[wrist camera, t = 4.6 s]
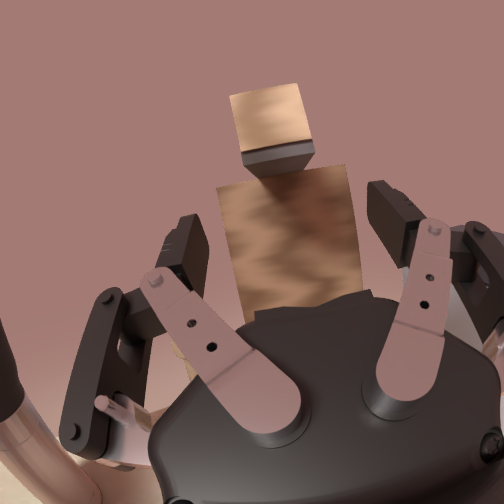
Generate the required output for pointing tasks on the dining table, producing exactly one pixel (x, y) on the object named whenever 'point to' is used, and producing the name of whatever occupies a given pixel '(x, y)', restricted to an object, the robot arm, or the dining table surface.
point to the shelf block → (292, 239)
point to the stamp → (272, 130)
